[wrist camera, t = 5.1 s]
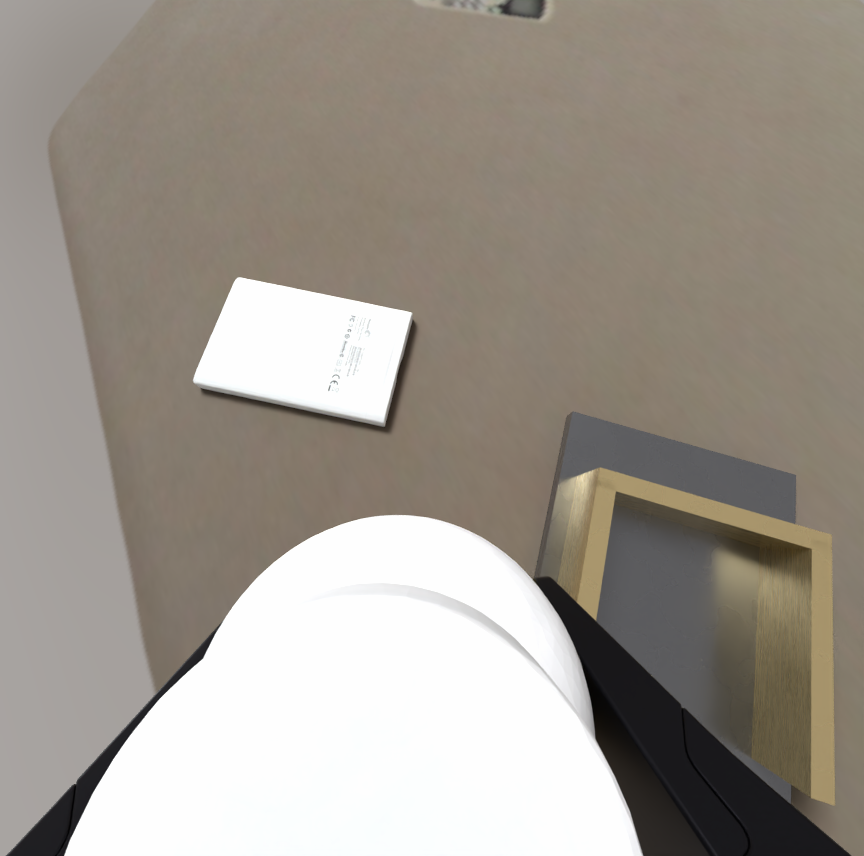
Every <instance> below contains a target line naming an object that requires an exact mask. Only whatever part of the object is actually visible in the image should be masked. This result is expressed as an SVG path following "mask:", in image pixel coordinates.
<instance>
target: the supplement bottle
mask: <svg viewBox="0 0 864 856" xmlns="http://www.w3.org/2000/svg"><path fill="white" fill-rule="evenodd" d="M64 856H643V853H642V850H641V847H640V843H639V840H638V837H637V833H636V830H635V827H634V823H633V820H632V817H631V813H630V811H629V808H628V806H627V804H626V801H625V799H624V797H623V794H622V792H621V790H620V787H619V785H618V783H617V781H616V778H615V776H614V774H613V772H612V770H611V768H610V766H609V764H608V762H607V760H606V758H605V756H604V755H603V753H602V751H601V749H600V747H599V745H598V743H597V741H596V739H595V727H594V719H593V712H592V705H591V700H590V696H589V691H588V687H587V683H586V679H585V676H584V672H583V669H582V665H581V662H580V659H579V657H578V654H577V652H576V649H575V647H574V644H573V642H572V640H571V638H570V636H569V634H568V632H567V630H566V628H565V626H564V624H563V622H562V620H561V619H560V617H559V615H558V614H557V612H556V611H555V609H554V608H553V606H552V605H551V603H550V602H549V601H548V599H547V598H546V596H545V595H544V594H543V592H542V591H541V589H540V588H539V587H538V586H537V584H536V583H535V582H534V581H533V580H532V579H531V578H530V577H529V575H528V574H527V573H526V572H525V571H524V570H523V569H522V568H521V567H520V566H519V565H518V564H517V563H516V562H515V561H514V560H513V559H511V558H510V557H509V556H508V555H506V554H505V553H504V552H503V551H501V550H500V549H499V548H497V547H496V546H494V545H493V544H491V543H490V542H488V541H487V540H485V539H483V538H482V537H480V536H478V535H476V534H474V533H472V532H470V531H468V530H466V529H463V528H461V527H459V526H456V525H453V524H450V523H447V522H443V521H440V520H436V519H431V518H427V517H418V516H407V515H387V516H376V517H370V518H364V519H359V520H355V521H352V522H348V523H345V524H341V525H339V526H336V527H334V528H331V529H329V530H326V531H324V532H322V533H320V534H317V535H315V536H313V537H311V538H309V539H308V540H306V541H304V542H303V543H301V544H299V545H298V546H296V547H295V548H293V549H292V550H290V551H289V552H287V553H286V554H284V555H283V556H282V557H281V558H279V559H278V560H277V561H275V562H274V563H273V564H272V565H271V566H270V567H269V568H267V569H266V570H265V571H264V572H263V573H262V574H261V575H260V576H259V577H258V578H257V579H256V580H255V581H254V582H253V583H252V584H251V586H250V587H249V588H248V589H247V590H246V591H245V592H244V594H243V595H242V596H241V597H240V598H239V600H238V601H237V602H236V604H235V605H234V606H233V608H232V609H231V611H230V612H229V614H228V615H227V617H226V618H225V620H224V621H223V623H222V624H221V626H220V628H219V629H218V631H217V632H216V634H215V636H214V638H213V640H212V642H211V644H210V646H209V648H208V650H207V652H206V654H205V656H204V658H203V659H202V660H201V661H200V662H199V663H198V664H197V665H195V666H194V667H193V668H192V669H191V670H190V671H188V672H187V673H186V674H185V675H184V676H183V677H182V678H181V679H180V680H179V681H178V682H177V683H176V684H175V685H174V686H173V687H172V688H170V689H169V690H168V691H167V692H166V693H165V694H164V695H163V696H162V697H161V698H160V699H159V701H158V702H157V703H156V704H155V705H154V706H153V708H152V709H151V710H150V711H149V713H148V714H147V715H146V716H145V718H144V719H143V720H142V721H141V723H140V724H139V725H138V726H137V728H136V729H135V730H134V732H133V733H132V734H131V735H130V737H129V738H128V739H127V741H126V742H125V744H124V745H123V746H122V748H121V749H120V751H119V752H118V754H117V755H116V756H115V758H114V759H113V761H112V763H111V764H110V766H109V768H108V769H107V771H106V773H105V774H104V776H103V778H102V779H101V781H100V782H99V784H98V786H97V787H96V789H95V791H94V792H93V794H92V796H91V798H90V800H89V803H88V805H87V807H86V809H85V811H84V813H83V815H82V817H81V819H80V821H79V823H78V825H77V827H76V829H75V831H74V833H73V835H72V837H71V839H70V842H69V845H68V847H67V850H66V853H65V855H64Z"/></svg>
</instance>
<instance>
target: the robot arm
mask: <svg viewBox="0 0 864 856" xmlns="http://www.w3.org/2000/svg"><path fill="white" fill-rule="evenodd" d="M533 581H534V582H535V583H536V584H537V586H538V587H539V588H540V589H541V591H542V592H543V594H544V595H545V596H546V598H547V599H548V601H549V602H550V603H551V605H552V606H553V608H554V609H555V611H556V612H557V614H558V615H559V617H560V619H561V620H562V622H563V624H564V626H565V628H566V630H567V632H568V634H569V636H570V638H571V640H572V642H573V644H574V647H575V649H576V652H577V654H578V657H579V659H580V662H581V665H582V669H583V672H584V676H585V679H586V683H587V687H588V691H589V696H590V700H591V705H592V712H593V719H594V727H595V739H596V741H597V743H598V745H599V747H600V749H601V751H602V753H603V755H604V756H605V758H606V760H607V762H608V764H609V766H610V768H611V770H612V772H613V774H614V776H615V778H616V781H617V783H618V785H619V787H620V790H621V792H622V794H623V797H624V799H625V801H626V804H627V806H628V808H629V811H630V813H631V817H632V820H633V823H634V827H635V830H636V833H637V837H638V840H639V843H640V847H641V850H642V853H643V856H851V855H850V854H849V853H848V852H847V851H845V850H844V849H843V848H842V847H841V846H840V845H838V844H837V843H836V842H835V841H834V840H832V839H831V838H830V837H829V836H828V835H827V834H825V833H824V832H823V831H822V830H821V829H820V828H818V827H817V826H816V825H815V824H814V823H813V822H811V821H810V820H809V819H808V818H807V817H806V816H804V815H803V814H802V813H801V812H800V811H799V810H797V809H796V808H795V807H794V806H793V805H792V804H790V803H789V802H788V801H787V800H786V799H784V798H783V797H782V796H781V795H780V794H779V793H777V792H776V791H775V790H774V789H773V788H772V787H770V786H769V785H768V784H767V783H766V782H765V781H763V780H762V779H761V778H760V777H759V776H758V775H757V774H756V773H754V772H753V771H752V770H751V769H750V768H749V767H748V766H746V765H745V764H744V763H743V762H742V761H741V760H740V759H739V758H737V757H736V756H735V755H734V754H733V753H732V752H731V751H730V750H729V749H727V748H726V747H725V746H724V745H723V744H722V743H721V742H720V741H719V740H718V739H717V738H716V737H715V736H714V735H713V734H712V733H711V732H709V731H708V730H707V729H706V728H705V727H704V726H703V725H702V724H701V723H700V722H699V721H698V720H697V719H696V718H695V717H694V716H693V715H692V714H691V713H690V712H689V711H688V710H687V709H686V708H682V706H681V704H680V703H679V702H678V701H677V700H676V699H675V698H674V697H673V696H672V695H671V694H670V693H669V692H668V691H667V690H666V689H665V688H664V687H663V686H662V685H661V684H660V683H659V682H658V681H657V680H656V679H655V678H654V677H653V676H652V675H651V674H650V673H649V672H648V671H647V670H646V669H645V668H644V667H643V666H642V665H641V664H640V663H639V662H637V661H636V660H635V659H634V658H633V657H632V656H631V655H630V654H629V653H628V652H627V651H626V650H625V649H624V648H623V647H622V646H621V645H620V644H619V643H618V642H617V641H616V640H615V639H614V638H613V637H612V636H611V635H610V634H609V633H608V632H607V631H606V630H605V629H604V628H603V627H602V626H601V625H600V624H599V623H598V622H597V621H596V620H595V619H594V618H592V617H591V616H590V615H589V614H588V613H587V612H586V611H585V610H584V609H583V608H582V607H581V606H580V605H579V604H578V603H577V602H576V601H575V600H574V599H573V598H572V597H571V596H570V595H569V594H568V593H567V592H566V591H565V590H564V589H563V588H562V587H561V586H560V585H559V584H558V583H557V582H556V581H555V580H554V579H553V578H551V577H549V576H541V577H535V578H534V579H533ZM224 620H225V619H224ZM224 620H223V621H224ZM223 621H222V622H221V623H220V625H219V626H218V627H217V628H216V629H215V630H214V631H213V632H212V633H211V634H210V635H209V637H208V638H207V639H206V640H205V641H204V642H203V643H202V644H201V645H200V646H199V647H198V649H197V650H196V651H195V652H194V653H193V654H192V655H191V656H190V657H189V658H188V659H187V661H186V662H185V663H184V664H183V665H182V666H181V667H180V668H179V669H178V670H177V671H176V673H175V674H174V675H173V676H172V677H171V678H170V679H169V680H168V681H167V682H166V683H165V685H164V686H163V687H162V688H161V689H160V690H159V691H158V692H157V693H156V694H155V695H154V697H153V698H152V699H151V700H150V701H149V702H148V703H147V704H146V705H145V706H144V707H143V709H142V710H141V711H140V712H139V713H138V714H137V715H136V716H135V717H134V718H133V719H132V721H131V722H130V723H129V724H128V725H127V726H126V727H125V728H124V729H123V730H122V731H121V733H120V734H119V735H118V736H117V737H116V738H115V739H114V740H113V741H112V742H111V744H110V745H109V746H108V747H107V748H106V749H105V750H104V751H103V752H102V753H101V754H100V756H99V757H98V758H97V759H96V760H95V761H94V762H93V763H92V764H91V766H89V767H88V769H87V770H86V771H85V772H84V773H83V774H82V775H81V776H80V777H79V778H78V780H77V782H76V784H74V785H72V786H71V787H70V788H69V789H68V790H67V791H66V792H65V793H64V795H63V796H62V797H61V798H60V799H59V800H58V801H57V802H56V803H55V804H54V806H53V807H52V808H51V809H50V810H49V811H48V812H47V813H46V814H45V815H44V816H43V817H42V818H41V819H40V820H39V821H38V823H37V824H36V825H35V826H34V827H33V828H32V829H31V830H30V831H29V832H28V833H27V834H26V835H25V836H24V837H23V838H22V839H21V841H20V842H19V843H18V844H17V845H16V846H15V847H14V848H13V849H12V850H11V851H10V852H9V853H8V854H7V855H6V856H64V855H65V853H66V850H67V847H68V845H69V842H70V839H71V837H72V835H73V833H74V831H75V829H76V827H77V825H78V823H79V821H80V819H81V817H82V815H83V813H84V811H85V809H86V807H87V805H88V803H89V800H90V798H91V796H92V794H93V792H94V791H95V789H96V787H97V786H98V784H99V782H100V781H101V779H102V778H103V776H104V774H105V773H106V771H107V769H108V768H109V766H110V764H111V763H112V761H113V759H114V758H115V756H116V755H117V754H118V752H119V751H120V749H121V748H122V746H123V745H124V744H125V742H126V741H127V739H128V738H129V737H130V735H131V734H132V733H133V732H134V730H135V729H136V728H137V726H138V725H139V724H140V723H141V721H142V720H143V719H144V718H145V716H146V715H147V714H148V713H149V711H150V710H151V709H152V708H153V706H154V705H155V704H156V703H157V702H158V701H159V699H160V698H161V697H162V696H163V695H164V694H165V693H166V692H167V691H168V690H169V689H170V688H172V687H173V686H174V685H175V684H176V683H177V682H178V681H179V680H180V679H181V678H182V677H183V676H184V675H185V674H186V673H187V672H188V671H190V670H191V669H192V668H193V667H194V666H195V665H197V664H198V663H199V662H200V661H201V660H202V659H203V658H204V656H205V654H206V652H207V650H208V648H209V646H210V644H211V642H212V640H213V638H214V636H215V634H216V632H217V631H218V629H219V628H220V626H221V624H222V623H223Z"/></svg>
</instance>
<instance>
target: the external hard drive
mask: <svg viewBox="0 0 864 856" xmlns="http://www.w3.org/2000/svg"><path fill="white" fill-rule="evenodd" d="M412 320H413V317H412V313H411V312H406V311H402V310H396V309H391V308H387V307H382V306H377V305H372V304H368V303H362V302H358V301H353V300H348V299H343V298H338V297H333V296H329V295H323V294H319V293H314V292H309V291H304V290H299V289H294V288H289V287H285V286H280V285H275V284H270V283H264V282H259V281H254V280H249V279H245V278H237V279H236V280H235V282H234V284H233V286H232V289H231V291H230V293H229V296H228V298H227V300H226V303H225V305H224V307H223V310H222V312H221V315H220V317H219V319H218V321H217V324H216V326H215V328H214V331H213V333H212V335H211V337H210V340H209V342H208V344H207V347H206V349H205V351H204V354H203V356H202V358H201V361H200V363H199V366H198V368H197V370H196V373H195V376H194V380H193V382H194V384H196V385H197V386H199V387H200V388H202V389H207V390H212V391H217V392H221V393H226V394H231V395H236V396H241V397H245V398H250V399H255V400H259V401H264V402H269V403H274V404H278V405H283V406H288V407H292V408H297V409H302V410H307V411H311V412H316V413H321V414H325V415H330V416H335V417H340V418H344V419H349V420H354V421H359V422H363V423H368V424H372V425H377V426H382V427H385V424H386V420H387V416H388V412H389V408H390V404H391V401H392V397H393V393H394V389H395V385H396V381H397V380H396V379H397V374H398V370H399V367H400V363H401V361H402V358H403V355H404V351H405V347H406V343H407V339H408V335H409V332H410V328H411V324H412Z"/></svg>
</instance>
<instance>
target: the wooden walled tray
mask: <svg viewBox="0 0 864 856" xmlns="http://www.w3.org/2000/svg"><path fill="white" fill-rule="evenodd" d="M795 506H796V475H794V474H790V473H787V472H783V471H780V470H776V469H773V468H769V467H766V466H762V465H759V464H755V463H752V462H748V461H745V460H741V459H738V458H734V457H731V456H727V455H724V454H720V453H717V452H713V451H710V450H706V449H703V448H699V447H696V446H692V445H689V444H685V443H682V442H678V441H675V440H671V439H668V438H664V437H661V436H657V435H654V434H650V433H647V432H643V431H640V430H636V429H633V428H629V427H626V426H622V425H619V424H615V423H612V422H608V421H604V420H601V419H597V418H594V417H590V416H587V415H583V414H580V413H576V412H572V413H570V414H569V415H568V416H567V418H566V423H565V428H564V433H563V438H562V443H561V448H560V453H559V458H558V462H557V467H556V472H555V477H554V482H553V487H552V492H551V497H550V502H549V507H548V512H547V517H546V522H545V527H544V531H543V536H542V541H541V546H540V551H539V556H538V561H537V566H536V571H535V576H534V578H535V577H541V576H549V577H551V578H553V579H554V580H555V581H556V582H557V583H558V584H559V585H560V586H561V587H562V588H563V589H564V590H565V591H566V592H567V593H568V594H569V595H570V596H571V597H572V598H573V599H574V600H575V601H576V602H577V603H578V604H579V605H580V606H581V607H582V608H583V609H584V610H585V611H586V612H587V613H588V614H589V615H590V616H591V617H592V618H594V619H595V620H596V621H597V622H598V623H599V624H600V625H601V626H602V627H603V628H604V629H605V630H606V631H607V632H608V633H609V634H610V635H611V636H612V637H613V638H614V639H615V640H616V641H617V642H618V643H619V644H620V645H621V646H622V647H623V648H624V649H625V650H626V651H627V652H628V653H629V654H630V655H631V656H632V657H633V658H634V659H635V660H636V661H637V662H639V663H640V664H641V665H642V666H643V667H644V668H645V669H646V670H647V671H648V672H649V673H650V674H651V675H652V676H653V677H654V678H655V679H656V680H657V681H658V682H659V683H660V684H661V685H662V686H663V687H664V688H665V689H666V690H667V691H668V692H669V693H670V694H671V695H672V696H673V697H674V698H675V699H676V700H677V701H678V702H679V703H680V704H681V706H682V708H686V709H687V710H688V711H689V712H690V713H691V714H692V715H693V716H694V717H695V718H696V719H697V720H698V721H699V722H700V723H701V724H702V725H703V726H704V727H705V728H706V729H707V730H708V731H709V732H711V733H712V734H713V735H714V736H715V737H716V738H717V739H718V740H719V741H720V742H721V743H722V744H723V745H724V746H725V747H726V748H727V749H729V750H730V751H731V752H732V753H733V754H734V755H735V756H736V757H737V758H739V759H740V760H741V761H742V762H743V763H744V764H745V765H746V766H748V767H749V768H750V769H751V770H752V771H753V772H754V773H756V774H757V775H758V776H759V777H760V778H761V779H762V780H763V781H765V782H766V783H767V784H768V785H769V786H770V787H772V788H773V789H774V790H775V791H776V792H777V793H779V794H780V795H781V796H782V797H783V798H784V799H786V800H787V801H788V802H789V803H790V804H791V785H792V786H794V787H795V788H797V789H798V790H800V791H801V792H803V793H804V794H806V795H807V796H809V797H810V798H813V799H816V800H819V801H822V802H825V803H828V804H831V805H834V806H835V767H834V683H833V599H832V535H830V534H827V533H823V532H820V531H817V530H813V529H810V528H806V527H803V526H799V525H796V524H795Z"/></svg>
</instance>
